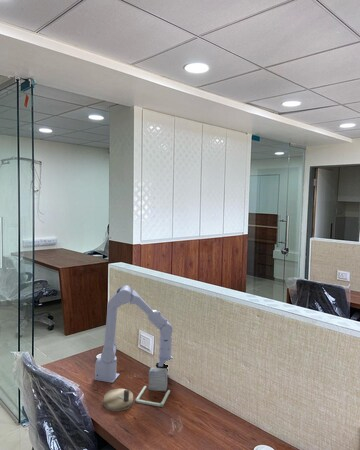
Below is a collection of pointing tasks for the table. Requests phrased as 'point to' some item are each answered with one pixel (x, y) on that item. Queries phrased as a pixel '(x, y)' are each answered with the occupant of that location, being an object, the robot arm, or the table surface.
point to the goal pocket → (149, 401)
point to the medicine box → (158, 379)
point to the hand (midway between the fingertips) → (164, 374)
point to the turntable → (118, 399)
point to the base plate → (119, 409)
